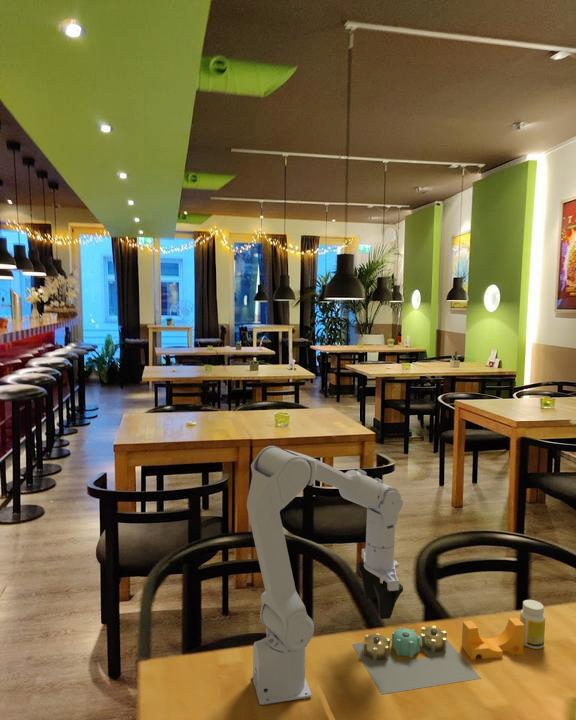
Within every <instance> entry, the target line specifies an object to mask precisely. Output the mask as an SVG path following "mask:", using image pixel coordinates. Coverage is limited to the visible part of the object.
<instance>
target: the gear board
mask: <svg viewBox="0 0 576 720" xmlns="http://www.w3.org/2000/svg"><path fill="white" fill-rule="evenodd" d="M447 634H448V633H447V631H446V630H442V629H440V628H438V627H436V625H431V626H427V627H424V626H423V627H421V628H420V634H417V636H420V641H419V648H421V649H422V652H424V653H425V655H426V656H427V657H420V658H415V659H406V660H399V661H397V660H396V658H395V657H394V655H393V654H392V653H391V651H390V649H391V641H392V638H386V636H384V635H382V634H380V633H379V632H377V633H375V634H373V633H372V634H369V635H368V634H365V635H364V641H362V642H358V643H352V644H351V645H352V646H353V648H354V651H355V652H356V654H357V655H358V657H359V658H360V660H361V662H362V664H363V666H364V667H365V669H366V671H367V672H368V674H369V675H370V677H371V679H372V681H373V682H374V684H375V686H376V687H377V688H378V690H379V692H380V693H381V695H388V694H392V693H393V694H394V693H400V692H406V691H412V690H418V689H424V688H426V689H427V688H431V687H437V686H444V685H449V684H455V683H462V682H468V681H474V680H480V679H482V677H481V676H480V675H479V674H478V673H477V672H476V671H475V669H474V668H473V667H472V666H471V665H470V664H469V663H468V662H467V660H466V659H465V658H463V656H462V655H461V654H460V653H459V652H458V651H457V649H456V648H455V646H453V645H452V644H451V643H450V642H449V640H447V638H448V636H447Z"/></svg>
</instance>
